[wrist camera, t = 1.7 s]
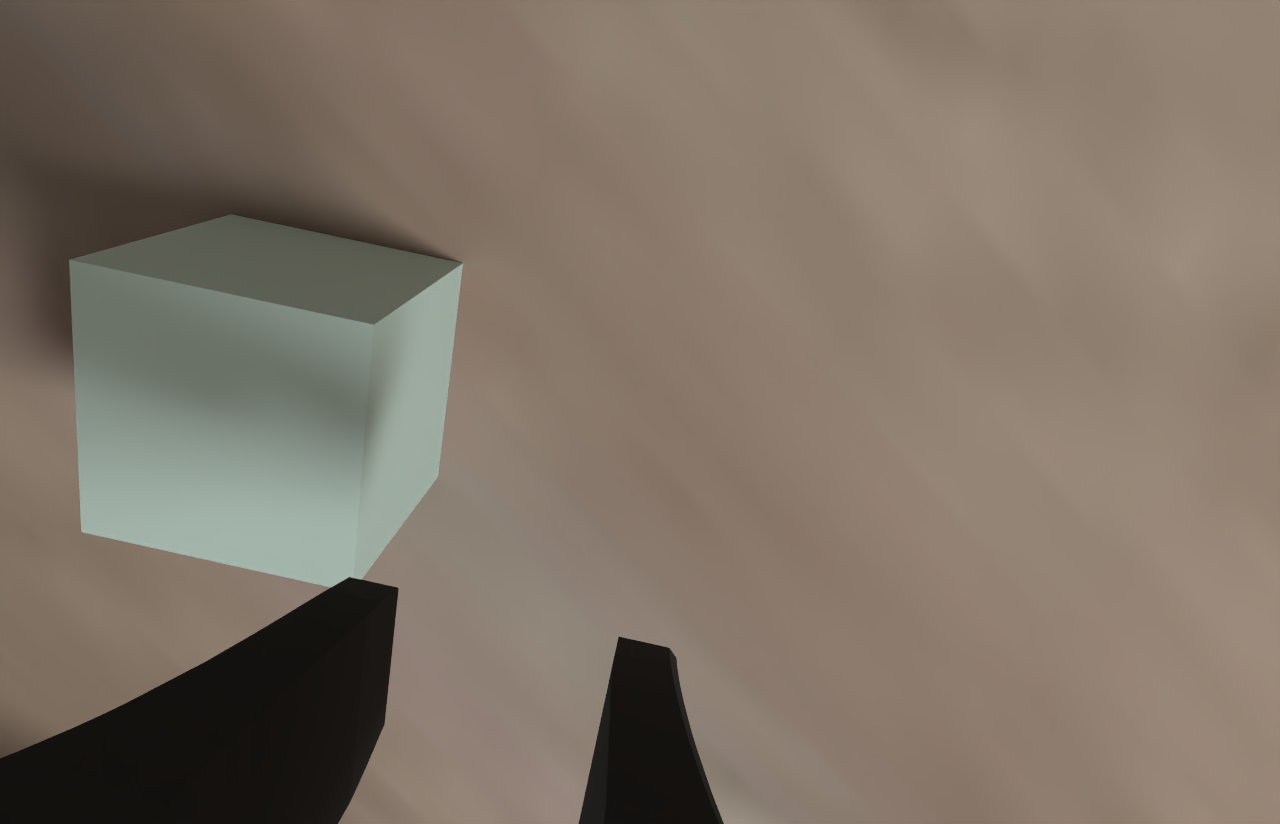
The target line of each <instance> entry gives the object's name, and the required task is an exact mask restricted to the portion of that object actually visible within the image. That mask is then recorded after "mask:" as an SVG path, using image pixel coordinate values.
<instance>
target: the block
mask: <svg viewBox="0 0 1280 824" xmlns="http://www.w3.org/2000/svg"><path fill="white" fill-rule="evenodd" d="M462 267H463V263H460V262H455V261H450V260H445V259H441V258H436V257H431V256H427V255H422V254H417V253H412V252H408V251H403V250H398V249H393V248H389V247H384V246H379V245H374V244H370V243H365V242H360V241H355V240H351V239H346V238H341V237H337V236H332V235H327V234H322V233H318V232H313V231H308V230H303V229H299V228H294V227H289V226H284V225H280V224H275V223H270V222H265V221H261V220H256V219H251V218H247V217H242V216H237V215H232V214H230V215H227V216H223V217H220V218H216V219H213V220H209V221H205V222H202V223H198V224H195V225H191V226H188V227H184V228H181V229H177V230H173V231H170V232H166V233H163V234H159V235H156V236H152V237H148V238H145V239H141V240H138V241H134V242H131V243H127V244H124V245H120V246H116V247H113V248H109V249H106V250H102V251H99V252H95V253H91V254H88V255H84V256H81V257H77V258H74V259H70V260H69V269H70V291H71V313H72V335H73V357H74V379H75V401H76V423H77V445H78V467H79V489H80V511H81V532H84V533H88V534H93V535H97V536H102V537H106V538H111V539H115V540H120V541H124V542H129V543H133V544H138V545H142V546H147V547H151V548H156V549H160V550H165V551H169V552H174V553H178V554H183V555H187V556H192V557H196V558H201V559H205V560H210V561H214V562H219V563H223V564H228V565H232V566H237V567H241V568H246V569H250V570H255V571H259V572H264V573H269V574H273V575H278V576H282V577H287V578H291V579H296V580H300V581H305V582H309V583H314V584H318V585H323V586H327V587H333V586H335V585H336V584H338V583H340V582H341V581H343V580H345V579H347V578H348V577H352V578H356V579H362V578H363V577H364V575H365V574H366V573H367V571H368V570H369V569H370V567H371V566H372V565H373V563H374V562H375V561H376V559H377V558H378V557H379V555H380V554H381V553H382V551H383V550H384V548H385V547H386V546H387V544H388V543H389V542H390V540H391V539H392V538H393V536H394V535H395V534H396V532H397V531H398V530H399V528H400V527H401V526H402V524H403V523H404V522H405V520H406V519H407V518H408V516H409V515H410V513H411V512H412V511H413V509H414V508H415V507H416V505H417V504H418V503H419V501H420V500H421V499H422V497H423V496H424V495H425V493H426V492H427V491H428V489H429V488H430V487H431V485H432V484H433V483H434V481H435V480H436V479H437V477H438V472H439V463H440V455H441V446H442V438H443V429H444V421H445V412H446V404H447V395H448V386H449V378H450V369H451V361H452V352H453V344H454V335H455V327H456V318H457V310H458V301H459V293H460V284H461V276H462Z"/></svg>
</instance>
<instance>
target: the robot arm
mask: <svg viewBox="0 0 1280 824" xmlns="http://www.w3.org/2000/svg"><path fill="white" fill-rule="evenodd" d="M397 598H398V588H397V587H392V586H388V585H383V584H379V583H374V582H370V581H365V580H361V579H356V578H352V577H348V578H347V579H345V580H343V581H341V582H340V583H338V584H336V585H335V586H333V587H331V588H329V589H328V590H326V591H324V592H323V593H321V594H319V595H318V596H316V597H314V598H313V599H311V600H309V601H308V602H306V603H304V604H303V605H301V606H299V607H298V608H296V609H295V610H293V611H291V612H290V613H288V614H286V615H285V616H283V617H281V618H280V619H278V620H276V621H275V622H273V623H271V624H270V625H268V626H266V627H265V628H263V629H261V630H260V631H258V632H256V633H255V634H253V635H251V636H249V637H248V638H246V639H244V640H243V641H241V642H239V643H237V644H236V645H234V646H232V647H230V648H229V649H227V650H225V651H223V652H222V653H220V654H218V655H217V656H215V657H213V658H211V659H210V660H208V661H206V662H204V663H202V664H200V665H199V666H197V667H195V668H193V669H191V670H189V671H187V672H185V673H183V674H181V675H179V676H177V677H176V678H174V679H172V680H170V681H168V682H166V683H164V684H162V685H160V686H158V687H156V688H154V689H153V690H151V691H149V692H147V693H145V694H143V695H141V696H139V697H137V698H135V699H133V700H131V701H130V702H128V703H126V704H124V705H122V706H119V707H117V708H115V709H113V710H111V711H109V712H107V713H105V714H103V715H101V716H98V717H96V718H94V719H92V720H90V721H87V722H85V723H83V724H81V725H79V726H76V727H74V728H72V729H70V730H67V731H65V732H63V733H60V734H58V735H56V736H53V737H51V738H49V739H46V740H44V741H42V742H39V743H37V744H34V745H32V746H30V747H27V748H25V749H23V750H20V751H18V752H16V753H13V754H11V755H8V756H6V757H3V758H0V824H338V822H339V821H340V819H341V817H342V815H343V814H344V812H345V810H346V808H347V807H348V805H349V803H350V801H351V799H352V797H353V795H354V793H355V790H356V788H357V786H358V784H359V781H360V779H361V777H362V775H363V773H364V770H365V768H366V766H367V764H368V761H369V759H370V757H371V754H372V752H373V750H374V747H375V745H376V743H377V740H378V738H379V736H380V733H381V731H382V729H383V726H384V723H385V714H386V704H387V694H388V685H389V675H390V665H391V656H392V646H393V636H394V627H395V617H396V607H397ZM579 824H724V823H723V821H722V818H721V816H720V813H719V811H718V808H717V805H716V803H715V800H714V797H713V795H712V792H711V789H710V786H709V783H708V780H707V778H706V775H705V772H704V769H703V766H702V763H701V760H700V757H699V754H698V751H697V748H696V745H695V742H694V738H693V735H692V732H691V728H690V724H689V721H688V717H687V713H686V709H685V705H684V701H683V697H682V692H681V688H680V682H679V677H678V670H677V660H676V657H675V656H674V654H673V653H672V651H671V650H670V648H668V647H663V646H659V645H654V644H650V643H645V642H640V641H636V640H631V639H627V638H622V637H619V638H618V643H617V647H616V652H615V656H614V661H613V665H612V670H611V675H610V679H609V684H608V689H607V694H606V698H605V703H604V708H603V712H602V717H601V722H600V726H599V731H598V736H597V741H596V745H595V750H594V755H593V759H592V764H591V769H590V773H589V778H588V783H587V787H586V792H585V797H584V802H583V806H582V811H581V816H580V820H579Z"/></svg>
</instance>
